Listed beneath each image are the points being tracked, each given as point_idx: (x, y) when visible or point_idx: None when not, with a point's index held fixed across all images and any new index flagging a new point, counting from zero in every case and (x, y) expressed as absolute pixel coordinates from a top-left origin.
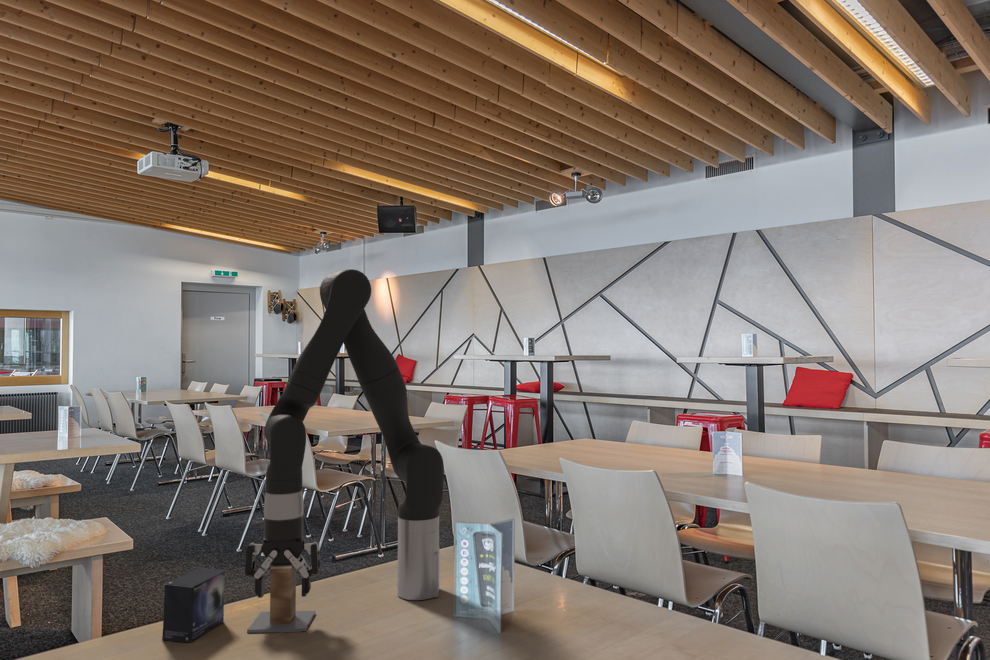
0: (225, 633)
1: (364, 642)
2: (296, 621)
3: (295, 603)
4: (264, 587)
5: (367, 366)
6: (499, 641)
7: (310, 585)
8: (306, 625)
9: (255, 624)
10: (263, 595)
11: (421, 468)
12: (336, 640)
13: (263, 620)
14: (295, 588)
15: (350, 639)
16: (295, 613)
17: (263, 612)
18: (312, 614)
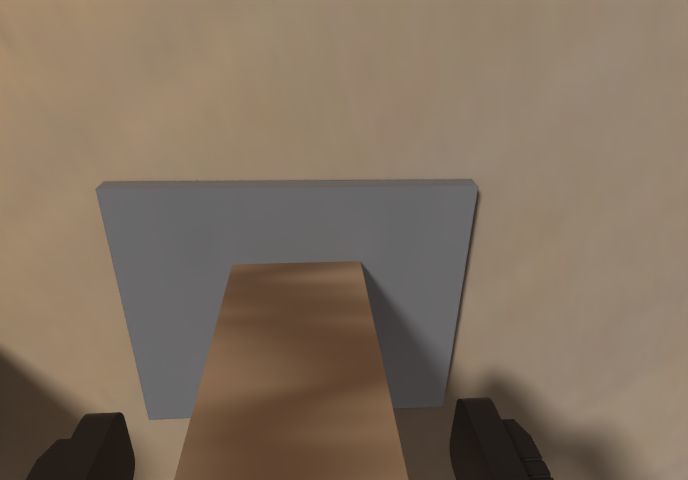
0: (40, 409)
1: (679, 469)
2: (383, 334)
3: (369, 309)
4: (97, 462)
5: None
6: None
7: (542, 470)
8: (445, 379)
9: (162, 368)
10: (126, 430)
11: None
12: (576, 458)
13: (183, 320)
14: (387, 397)
15: (631, 450)
16: (361, 269)
17: (119, 203)
18: (464, 247)
